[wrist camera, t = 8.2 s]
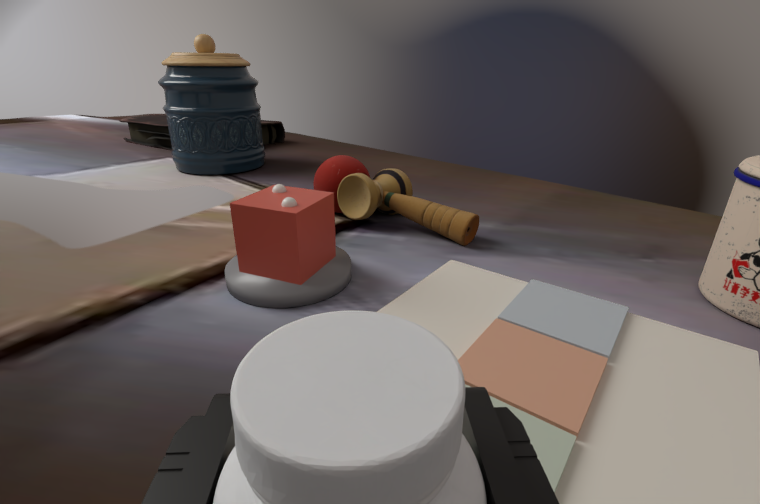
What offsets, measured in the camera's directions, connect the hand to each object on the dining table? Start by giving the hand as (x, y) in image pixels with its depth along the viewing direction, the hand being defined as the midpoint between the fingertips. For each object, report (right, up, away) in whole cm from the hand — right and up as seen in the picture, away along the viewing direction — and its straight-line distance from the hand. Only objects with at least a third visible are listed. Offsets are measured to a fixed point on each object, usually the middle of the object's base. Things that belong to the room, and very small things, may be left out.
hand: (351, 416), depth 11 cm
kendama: (+2, +7, +31) cm, 32 cm away
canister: (-23, +17, +52) cm, 60 cm away
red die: (-6, +3, +20) cm, 21 cm away
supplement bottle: (0, -7, 0) cm, 7 cm away
